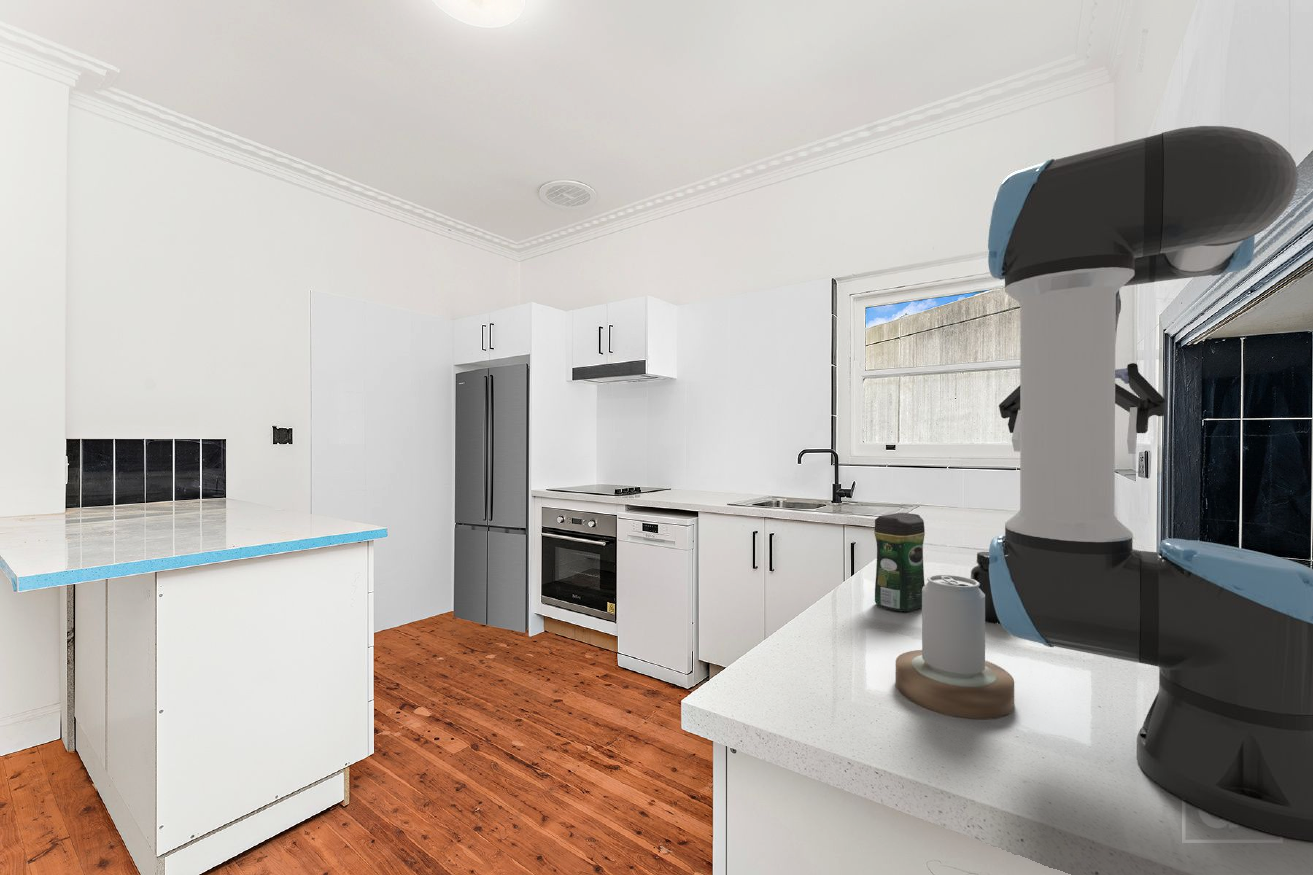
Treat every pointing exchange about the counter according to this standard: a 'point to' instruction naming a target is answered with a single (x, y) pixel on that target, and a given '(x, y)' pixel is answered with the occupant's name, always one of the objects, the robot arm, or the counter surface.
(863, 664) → the counter surface
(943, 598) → the can
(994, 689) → the pedestal
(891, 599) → the coffee jar
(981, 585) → the supplement bottle
